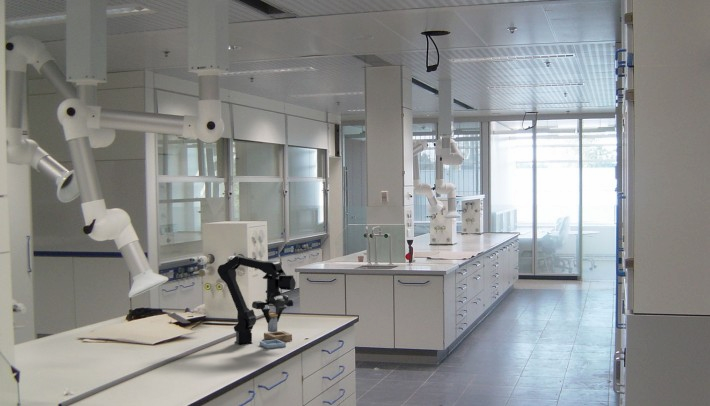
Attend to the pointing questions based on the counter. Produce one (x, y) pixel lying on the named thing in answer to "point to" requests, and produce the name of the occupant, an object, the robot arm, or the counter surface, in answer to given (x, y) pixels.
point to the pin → (272, 322)
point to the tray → (272, 344)
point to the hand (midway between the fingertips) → (272, 322)
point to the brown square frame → (278, 336)
